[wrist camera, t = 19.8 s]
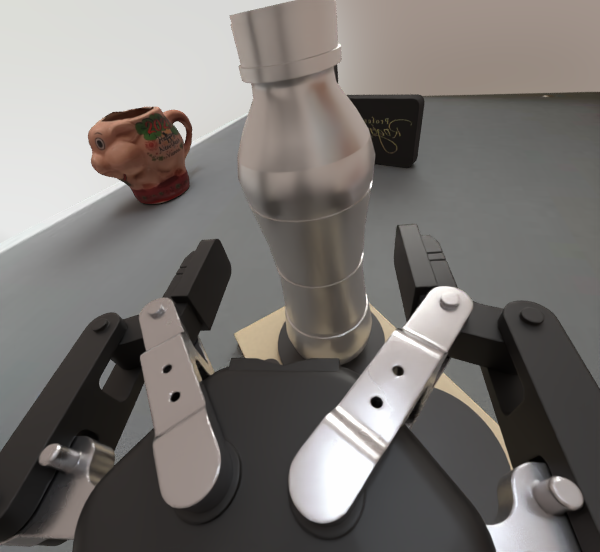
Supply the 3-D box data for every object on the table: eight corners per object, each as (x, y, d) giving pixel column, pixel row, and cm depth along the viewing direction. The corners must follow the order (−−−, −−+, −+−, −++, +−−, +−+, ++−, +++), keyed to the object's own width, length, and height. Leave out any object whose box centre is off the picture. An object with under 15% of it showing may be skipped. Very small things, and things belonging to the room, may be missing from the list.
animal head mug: (184, 165, 64) (152, 95, 55) (225, 167, 59) (198, 91, 49) (110, 212, 52) (53, 133, 43) (152, 220, 47) (98, 133, 38)
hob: (407, 696, 12) (414, 720, 10) (238, 342, 27) (229, 326, 25) (574, 513, 15) (603, 506, 13) (341, 285, 30) (339, 267, 28)
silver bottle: (285, 374, 21) (142, 34, 8) (299, 305, 26) (227, 17, 12) (371, 381, 20) (388, -22, 6) (370, 307, 25) (379, -18, 11)
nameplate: (416, 163, 47) (425, 94, 40) (411, 168, 46) (420, 98, 39) (314, 151, 58) (307, 95, 51) (309, 154, 57) (301, 98, 50)
